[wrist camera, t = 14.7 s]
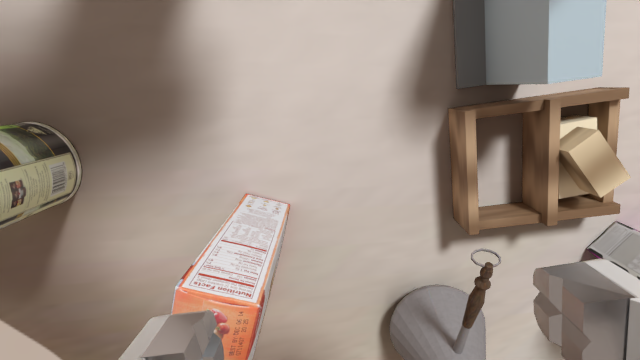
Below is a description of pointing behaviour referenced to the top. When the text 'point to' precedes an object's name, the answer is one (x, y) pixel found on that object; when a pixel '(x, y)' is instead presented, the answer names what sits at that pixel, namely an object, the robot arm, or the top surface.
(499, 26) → the board
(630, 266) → the candy bar box
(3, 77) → the top surface
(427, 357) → the coffee pot
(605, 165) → the upper offcut
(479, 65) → the mat
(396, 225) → the top surface
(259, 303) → the cracker box
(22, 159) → the coffee can
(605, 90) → the rack
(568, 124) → the block
